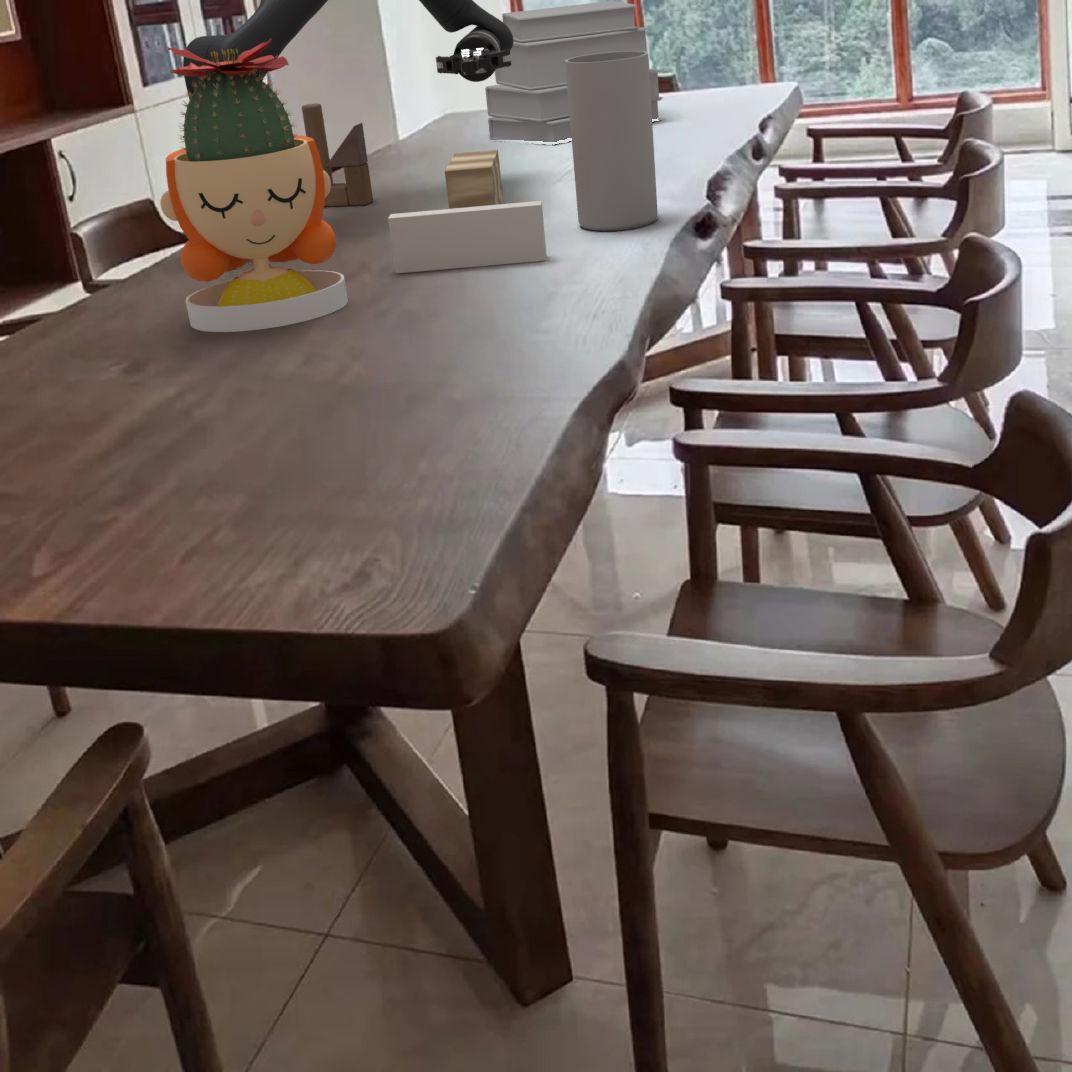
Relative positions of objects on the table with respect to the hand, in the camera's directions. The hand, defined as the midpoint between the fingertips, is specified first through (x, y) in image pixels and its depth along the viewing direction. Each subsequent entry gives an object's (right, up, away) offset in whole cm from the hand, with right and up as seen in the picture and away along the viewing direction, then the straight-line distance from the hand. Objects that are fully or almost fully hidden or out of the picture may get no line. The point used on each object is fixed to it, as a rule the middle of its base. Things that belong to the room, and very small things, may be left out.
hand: (469, 67), depth 221 cm
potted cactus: (-26, -43, -30) cm, 59 cm away
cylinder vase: (+24, -25, -1) cm, 35 cm away
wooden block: (-25, -13, +36) cm, 46 cm away
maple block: (+2, -27, -1) cm, 27 cm away
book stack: (+20, +16, +92) cm, 95 cm away
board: (+1, -35, -18) cm, 39 cm away
